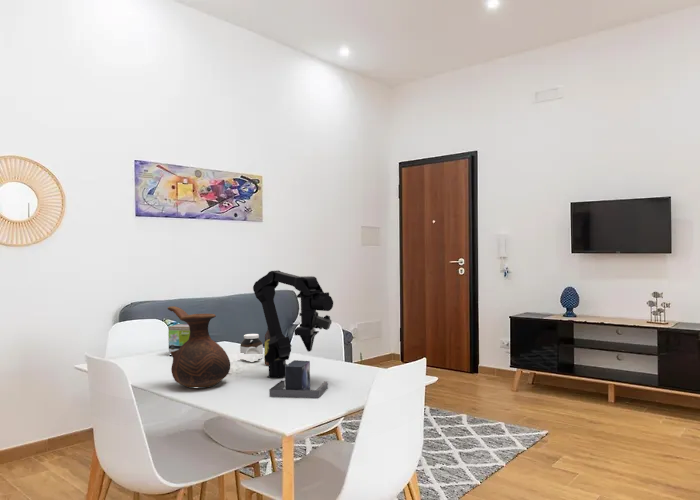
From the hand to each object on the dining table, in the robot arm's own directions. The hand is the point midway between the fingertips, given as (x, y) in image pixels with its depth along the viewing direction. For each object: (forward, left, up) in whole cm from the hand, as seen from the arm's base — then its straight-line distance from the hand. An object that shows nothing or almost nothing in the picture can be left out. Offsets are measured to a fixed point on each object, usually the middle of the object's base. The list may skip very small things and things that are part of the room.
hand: (309, 351), depth 208 cm
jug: (-41, -7, -12) cm, 43 cm away
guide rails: (0, -14, -12) cm, 18 cm away
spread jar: (-38, +39, -12) cm, 56 cm away
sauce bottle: (-26, +31, -12) cm, 42 cm away
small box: (0, -15, -12) cm, 19 cm away
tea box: (-77, +51, -12) cm, 93 cm away
